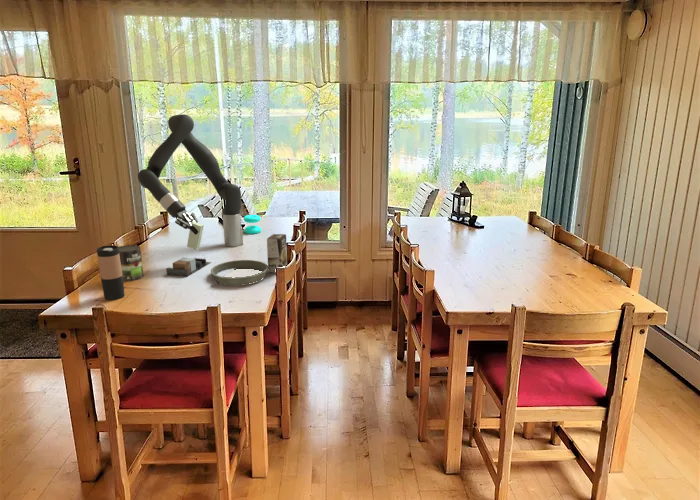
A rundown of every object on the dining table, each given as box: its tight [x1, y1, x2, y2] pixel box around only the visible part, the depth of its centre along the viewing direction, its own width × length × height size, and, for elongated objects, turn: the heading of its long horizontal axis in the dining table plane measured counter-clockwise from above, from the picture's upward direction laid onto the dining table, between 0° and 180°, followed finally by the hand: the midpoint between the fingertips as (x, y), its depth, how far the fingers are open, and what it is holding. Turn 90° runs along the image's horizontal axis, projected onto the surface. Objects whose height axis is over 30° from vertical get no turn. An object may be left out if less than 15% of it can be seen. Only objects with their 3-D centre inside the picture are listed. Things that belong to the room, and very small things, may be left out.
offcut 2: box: [177, 257, 196, 272], centre depth 215 cm, size 4×6×5 cm, turn 77°
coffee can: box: [118, 244, 144, 282], centre depth 205 cm, size 10×10×14 cm
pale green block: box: [186, 222, 204, 251], centre depth 220 cm, size 2×5×12 cm, turn 77°
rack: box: [165, 257, 212, 278], centre depth 218 cm, size 21×10×4 cm, turn 167°
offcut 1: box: [172, 260, 191, 273], centre depth 211 cm, size 4×6×5 cm, turn 77°
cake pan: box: [210, 259, 268, 286], centre depth 209 cm, size 25×25×4 cm
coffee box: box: [266, 233, 288, 274], centre depth 217 cm, size 9×6×16 cm
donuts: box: [243, 214, 262, 235], centre depth 285 cm, size 10×10×10 cm
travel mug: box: [96, 245, 125, 301], centre depth 184 cm, size 8×8×20 cm
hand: (198, 232), depth 219 cm, fingers closed on pale green block, 2 cm apart
